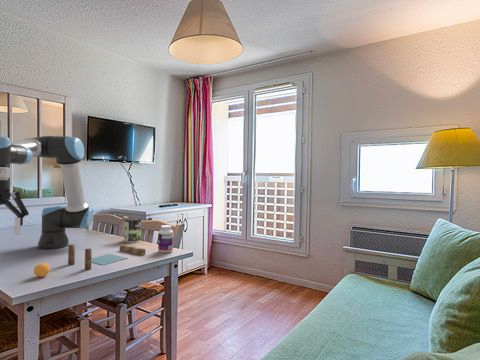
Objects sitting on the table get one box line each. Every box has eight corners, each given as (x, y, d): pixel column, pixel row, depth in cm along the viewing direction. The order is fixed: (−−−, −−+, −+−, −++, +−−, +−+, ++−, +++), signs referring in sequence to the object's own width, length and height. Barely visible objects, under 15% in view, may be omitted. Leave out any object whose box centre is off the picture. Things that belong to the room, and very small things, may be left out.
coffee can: (143, 239, 192) (144, 218, 191) (135, 243, 182) (135, 220, 181) (129, 238, 194) (130, 217, 193) (120, 242, 184) (120, 219, 183)
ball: (30, 277, 119) (31, 263, 119) (45, 273, 124) (45, 260, 124) (38, 280, 116) (38, 266, 116) (52, 276, 121) (52, 262, 121)
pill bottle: (159, 249, 168) (160, 224, 168) (173, 249, 169) (174, 224, 169) (156, 253, 160) (157, 227, 160) (171, 253, 161) (172, 227, 161)
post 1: (66, 264, 137) (67, 245, 136) (72, 263, 139) (72, 244, 139) (70, 265, 135) (70, 246, 135) (75, 264, 138) (76, 245, 138)
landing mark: (84, 260, 144) (84, 260, 144) (109, 254, 156) (109, 253, 156) (102, 265, 137) (102, 264, 137) (127, 258, 149) (127, 258, 149)
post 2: (83, 269, 131) (83, 249, 130) (88, 267, 133) (89, 248, 133) (87, 270, 129) (87, 250, 129) (92, 268, 132) (92, 248, 131)
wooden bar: (119, 250, 164) (119, 245, 164) (122, 249, 166) (122, 244, 166) (142, 255, 155) (142, 249, 155) (145, 254, 157) (145, 249, 157)
